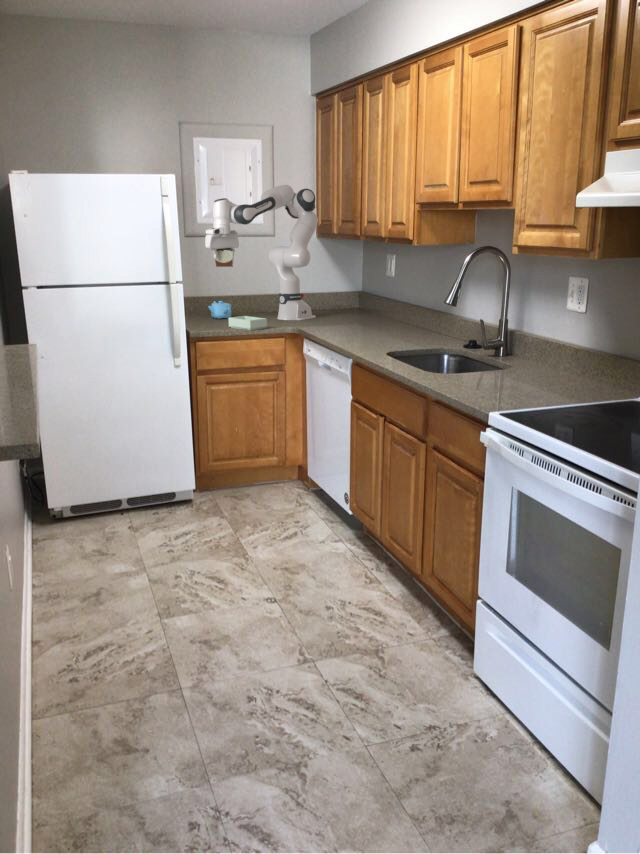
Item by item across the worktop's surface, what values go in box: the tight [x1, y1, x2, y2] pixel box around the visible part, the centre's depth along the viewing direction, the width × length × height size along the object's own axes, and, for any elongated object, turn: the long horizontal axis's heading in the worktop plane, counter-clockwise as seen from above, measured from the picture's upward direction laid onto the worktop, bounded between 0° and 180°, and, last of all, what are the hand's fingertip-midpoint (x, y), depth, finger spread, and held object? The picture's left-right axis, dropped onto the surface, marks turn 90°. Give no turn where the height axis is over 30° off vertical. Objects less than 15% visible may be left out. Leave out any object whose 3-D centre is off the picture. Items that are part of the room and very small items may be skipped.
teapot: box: [207, 300, 232, 320], centre depth 423 cm, size 18×14×10 cm
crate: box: [227, 315, 268, 332], centre depth 388 cm, size 11×17×5 cm, turn 46°
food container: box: [214, 247, 236, 268], centre depth 409 cm, size 12×6×10 cm, turn 76°
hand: (222, 257), depth 407 cm, fingers open, 8 cm apart
